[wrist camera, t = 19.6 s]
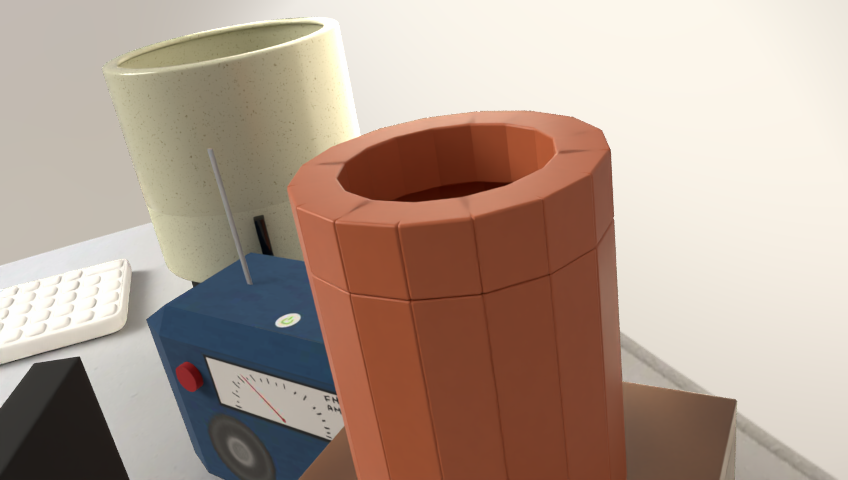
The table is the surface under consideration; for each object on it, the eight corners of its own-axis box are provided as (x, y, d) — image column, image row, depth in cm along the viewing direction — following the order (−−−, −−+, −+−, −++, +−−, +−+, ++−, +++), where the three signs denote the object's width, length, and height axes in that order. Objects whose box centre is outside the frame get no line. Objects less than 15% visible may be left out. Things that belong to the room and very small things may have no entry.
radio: (183, 484, 46) (65, 177, 37) (282, 400, 52) (199, 122, 44) (482, 618, 34) (404, 213, 26) (562, 489, 40) (520, 130, 32)
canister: (318, 548, 25) (221, 213, 20) (436, 389, 31) (387, 111, 26) (580, 634, 20) (543, 236, 15) (651, 429, 27) (642, 108, 22)
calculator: (128, 331, 64) (121, 311, 63) (-131, 402, 60) (-142, 383, 59) (134, 269, 76) (128, 252, 75) (-82, 325, 71) (-90, 308, 71)
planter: (257, 287, 68) (186, 28, 58) (422, 293, 62) (373, 7, 53) (152, 391, 55) (38, 80, 45) (348, 409, 49) (265, 60, 40)
